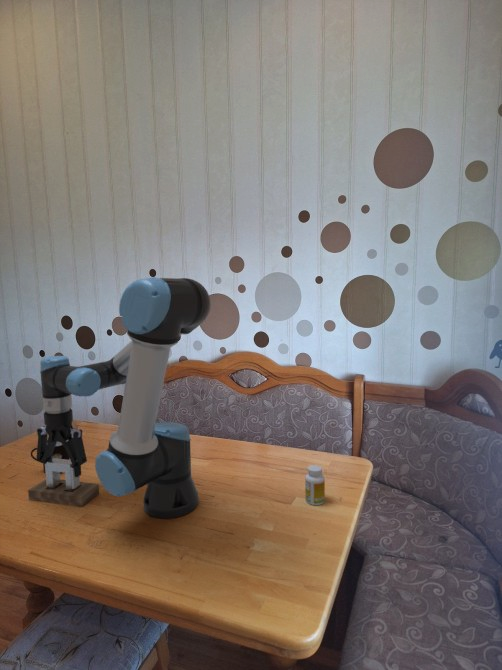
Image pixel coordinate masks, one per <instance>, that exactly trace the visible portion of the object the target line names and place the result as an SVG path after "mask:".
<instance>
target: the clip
mask: <svg viewBox="0 0 502 670" xmlns="http://www.w3.org/2000/svg"><path fill="white" fill-rule="evenodd" d="M46 463H47V477H48V489H51V490H55V489H56V488H58V487H59V486H61V483H60V479H61V474H60V472H64V473H65V476H64V477H65V480H66V491H67V492H73V491H75V490H76V489H78V487H76V488H75V489H72V483H71V468H70V467H72V466H73V465H72V463H71V460H70V459H69V460H66V459H57V458H53V459H51V460H50V461H48V462H46Z"/></svg>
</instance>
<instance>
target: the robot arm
mask: <svg viewBox="0 0 502 670" xmlns="http://www.w3.org/2000/svg"><path fill="white" fill-rule="evenodd" d="M118 310H119V311H118V313H119V316H120V317H121V318H120V321H121V324H122V325H123V327H124V328H125V329H126V335H127V336H128V337H129V339H130V340H131V341H130V342H128V343H127V344H126V345H125V346H124V347H123V348H122V349H120V350H119V352H117V353H116V354H115V355H114V356H113V357H112V358H111V359H109V360H106V361H101V362H97V363H96V362H95V363H90V364H85V365H80V366H73V365H71V363H70V359H69V357H68V356H66V355H52V356H46V357H44V358H42V359H41V360H40V370H39V373H40V382H41V383H40V384H41V394H42V406H43V408H42V409H43V411H44V413H43V419H44V421H43V422H44V426H41V427H39V428H38V429H37V428H36V433H37V445H36V448H37V450H36V457H35V458H36V459H37V461H36V462H38V461H42V463H41V464H42V465H43V473H44V474H45V479H46V485H47V486H48V477H47V463H46V462H48V461H50V460H51V458H52V455H53V452H54V449H55V446H56V443H57V442H61V443H62V445H63V446H64V447H65V449H66V451H67V453H68V456H69V458H70V459H69V460H71V463H72V465H73V466H72V467H70V468H71V483H72V489H75V488H76V487H78V486H79V485H80V482H81V478H80V476H82V465H84V464H85V463H87V462H88V459H87V455H86V450H85V445H84V442H83V441H84V440H83V429H78V430H75V429H73V427H72V421H74V418H73V414H74V413H73V409H72V407H73V400H72V395H73V396H76V397H77V396H78V397H91V396H93V395H94V394H95V393H96V392H98V391H99V390H103V389H106V388H107V389H108V388H112V387H115V386H120V385H124V384H125V385H124V391H123V397H122V402H121V409H120V415H119V419H118V420H119V421H118V427H117V429H115V430H114V432H112V433H111V435H110V437H109V442H108V446H107V449H106V450H103V451H101V452H100V453H99V454H98V455H96V458H95V464H94V466H95V472H96V475H97V478H98V480H99V482H100V484H101V486H102V487H103V488H104V489H105V490H106V491H107V493H109V494H110V495H113V496H115V497H124V496H126V495H129V494H131V493H132V494H133V493H134V492H135V491H137V490H139V489H140V488H143V487H144V486H146V485H147V486H146V490H145V494H144V497H143V511H144V513H146V515H149V516H150V517H153V518H158V519H174V518H179V517H182V516H185V515H187V514H190V513H191V512H193V511H195V509H197V506H199V493H198V490H197V487H196V484H195V482H194V480H193V477H192V465H191V464H192V461H191V455H192V454H191V441H192V440H191V438H190V437H191V436H190V429H189V427H188V426H187V425H185V424H182V423H179V422H174V421H173V422H171V421H167V422H166V421H163V422H157V419H158V415H159V408H160V403H161V398H162V392H163V387H164V383H165V382H164V381H165V378H166V371H167V368H168V363H169V357H170V352H171V348H172V347H173V346H175V345H177V344H178V343H179V340H180V337H181V336H182V335H188V334H190V333H193V331H194V330H195V329H197V328H198V327H199V326H200V325H202V324H203V323H204V322H205V320H206V319H207V318H208V316H209V314H210V311H211V297H210V294H209V292H208V290H207V289H206V288H205V287H204V285H203V284H202V283H200V282H199V281H197V280H194V279H192V278H186V277H181V278H173V277H172V278H171V277H169V278H168V277H167V278H166V277H155V276H154V277H147V278H139V279H136V280H134V281H133V282H132V283H130V284H128V286H127V287H125V289H124V291H123V292H122V294H121V297H120V301H119V309H118ZM71 434H72V435H71ZM67 440H68V441H67ZM66 441H67V442H66ZM52 459H53V458H52Z"/></svg>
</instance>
